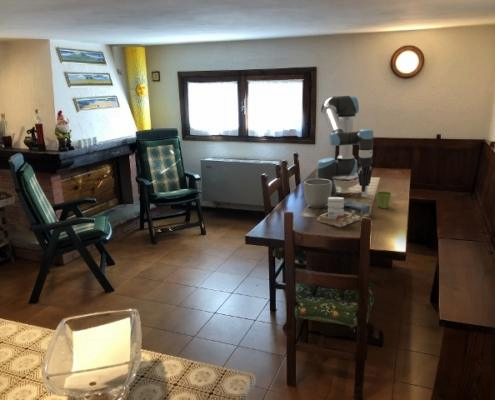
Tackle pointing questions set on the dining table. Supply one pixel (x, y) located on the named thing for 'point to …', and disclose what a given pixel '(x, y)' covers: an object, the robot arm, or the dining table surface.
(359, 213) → the cradle
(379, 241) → the dining table surface
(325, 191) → the planter
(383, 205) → the plant pot
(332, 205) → the ink box
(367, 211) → the block
